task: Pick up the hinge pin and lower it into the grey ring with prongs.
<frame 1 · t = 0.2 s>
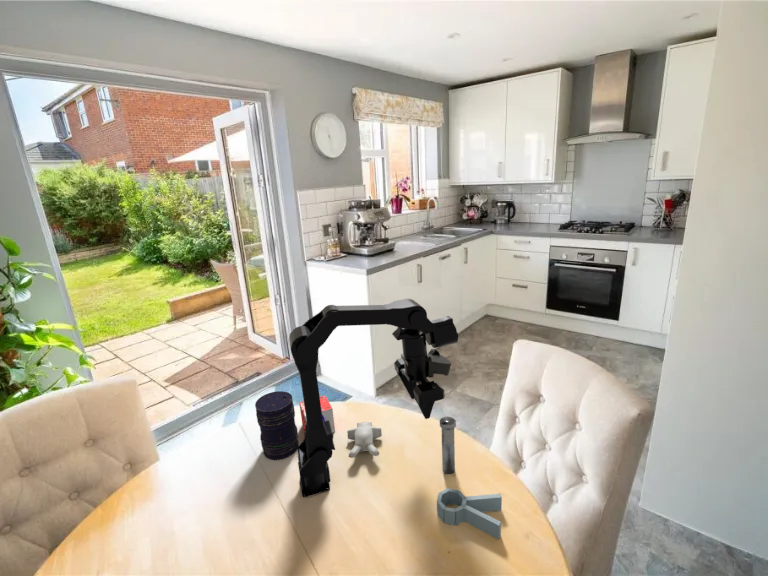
hand: (420, 408, 96), 14 cm above the table, tool pointing down, fingers open, 9 cm apart
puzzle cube: (318, 429, 114), on the table
grey figurine: (365, 447, 105), on the table
grey ring with prongs: (451, 512, 83), on the table
hinge pin: (448, 470, 95), on the table
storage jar: (281, 448, 107), on the table
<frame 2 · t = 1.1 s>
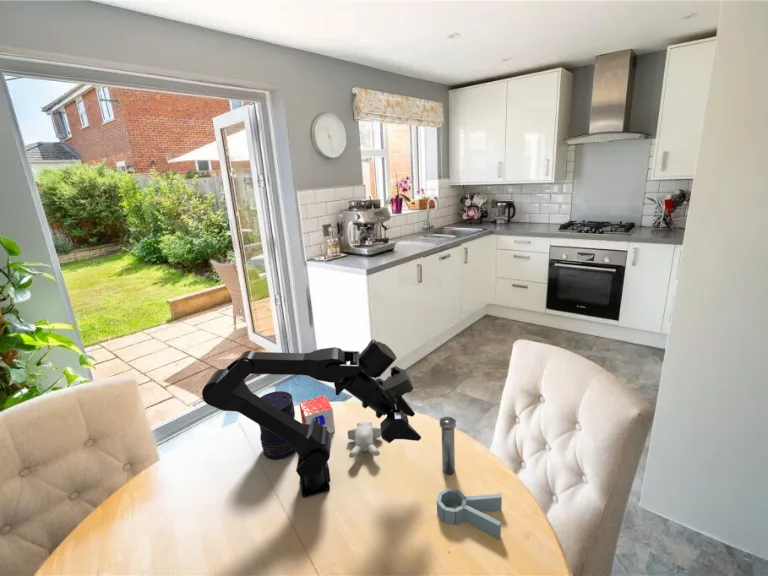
hand: (416, 426, 91), 13 cm above the table, tool tilted 45°, fingers open, 9 cm apart
nothing on the table moved.
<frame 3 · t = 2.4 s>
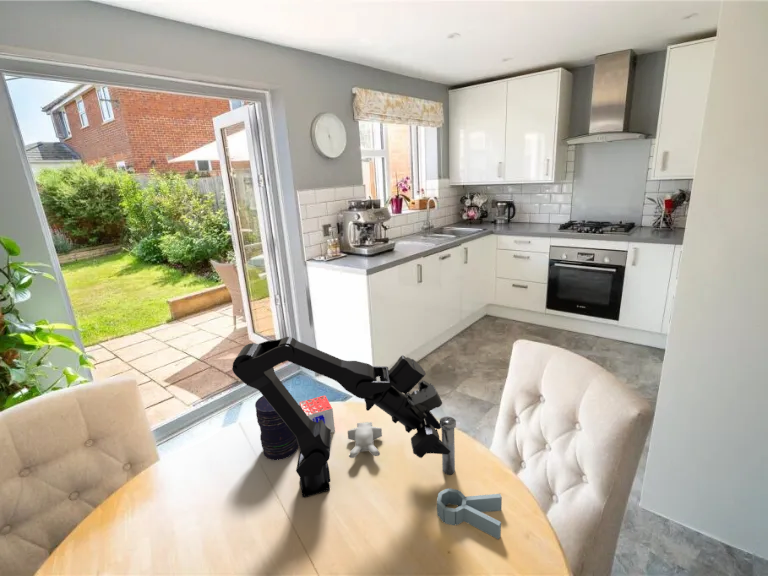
hand: (444, 439, 92), 9 cm above the table, tool tilted 45°, fingers open, 9 cm apart
nothing on the table moved.
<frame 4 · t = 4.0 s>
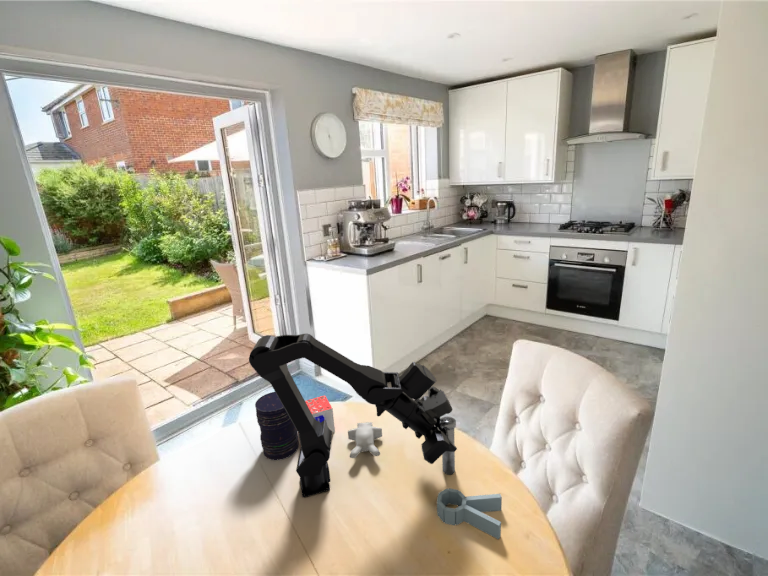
hand: (453, 445, 93), 7 cm above the table, tool tilted 45°, fingers closed on hinge pin, 3 cm apart
hinge pin: (448, 470, 95), on the table, touching gripper
everything else where it was.
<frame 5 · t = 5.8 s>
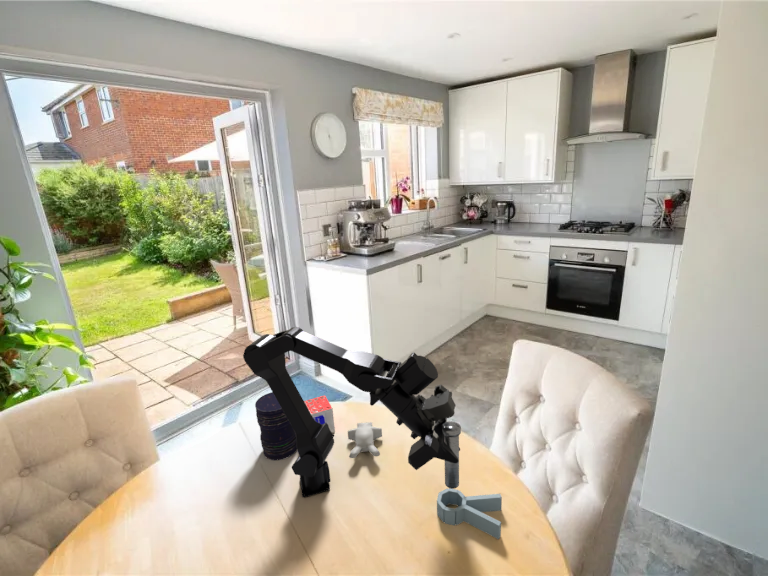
hand: (458, 456, 80), 13 cm above the table, tool tilted 45°, fingers closed on hinge pin, 3 cm apart
hinge pin: (451, 483, 83), point 6 cm above the table, touching gripper
everything else where it was.
when the fingers open (8 cm above the table, at t = 8.0 s): hinge pin drops 1 cm, resting in grey ring with prongs.
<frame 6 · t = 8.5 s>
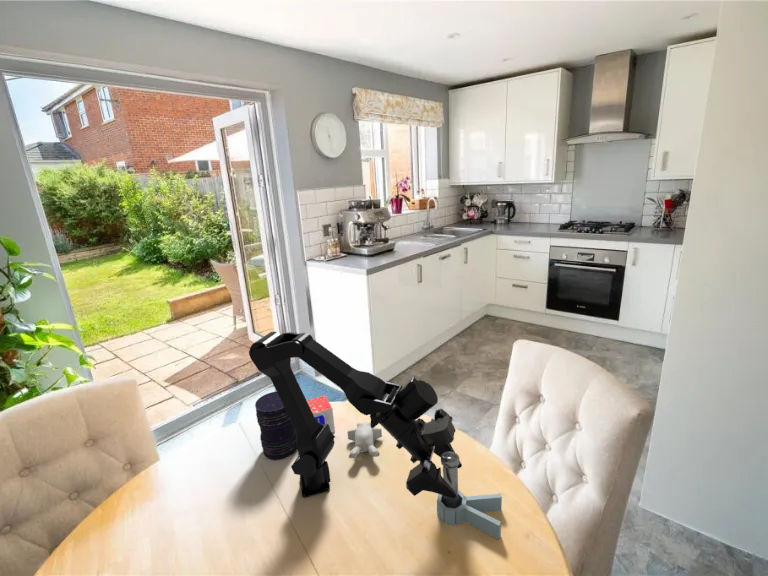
hand: (458, 481, 80), 9 cm above the table, tool tilted 45°, fingers open, 8 cm apart
hinge pin: (451, 512, 83), resting in grey ring with prongs
everything else where it was.
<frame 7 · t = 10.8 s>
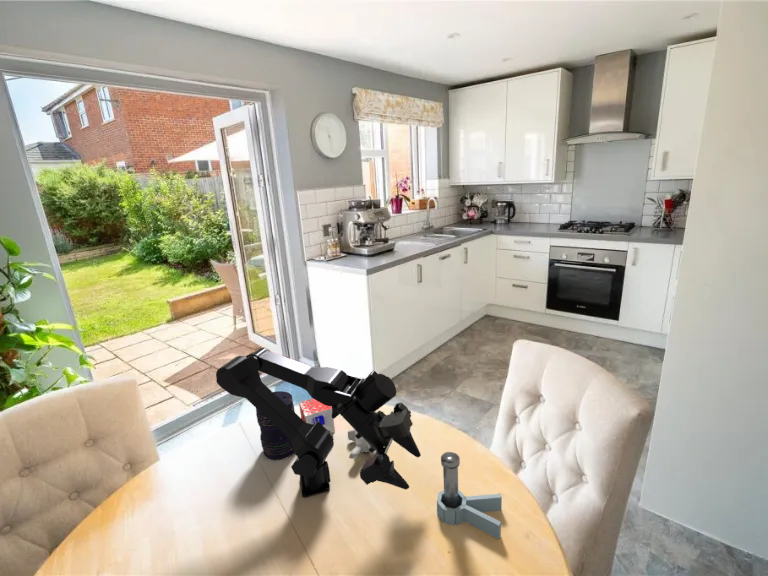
hand: (413, 471, 83), 9 cm above the table, tool tilted 40°, fingers open, 9 cm apart
nothing on the table moved.
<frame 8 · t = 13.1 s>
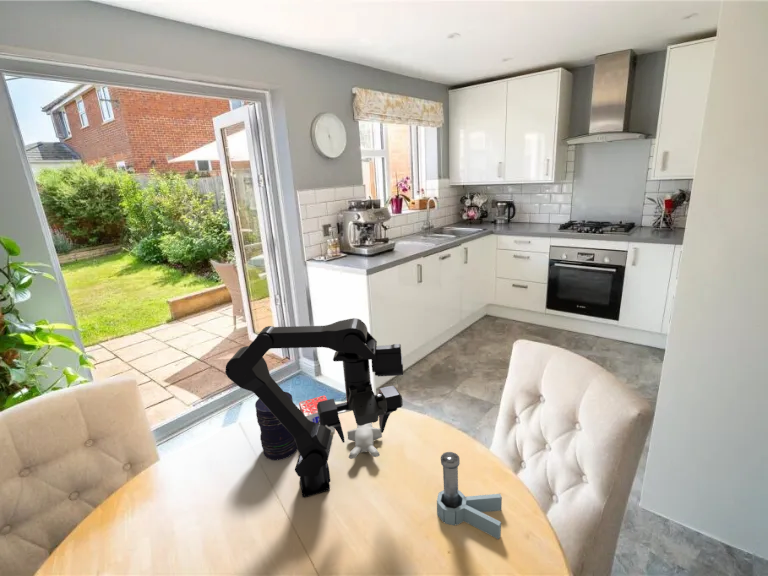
hand: (362, 436, 89), 13 cm above the table, tool pointing down, fingers open, 9 cm apart
nothing on the table moved.
at the end: hinge pin 0.0 cm off-centre on the grey ring with prongs, point 0.0 cm above the grey ring with prongs's base; hinge pin tilted 1°; the gripper is holding nothing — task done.
